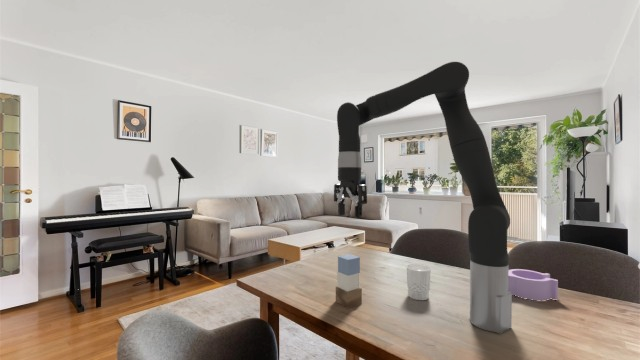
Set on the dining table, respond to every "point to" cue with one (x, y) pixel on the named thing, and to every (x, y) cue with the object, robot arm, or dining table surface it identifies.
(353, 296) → the tower base
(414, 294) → the white cup
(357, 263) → the blue cube
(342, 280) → the tower top
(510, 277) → the purple piece
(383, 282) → the dining table surface
